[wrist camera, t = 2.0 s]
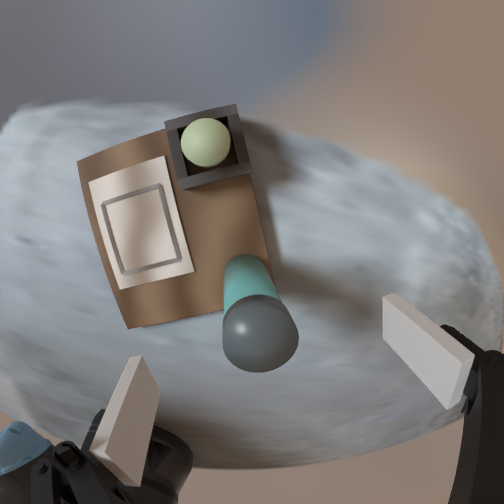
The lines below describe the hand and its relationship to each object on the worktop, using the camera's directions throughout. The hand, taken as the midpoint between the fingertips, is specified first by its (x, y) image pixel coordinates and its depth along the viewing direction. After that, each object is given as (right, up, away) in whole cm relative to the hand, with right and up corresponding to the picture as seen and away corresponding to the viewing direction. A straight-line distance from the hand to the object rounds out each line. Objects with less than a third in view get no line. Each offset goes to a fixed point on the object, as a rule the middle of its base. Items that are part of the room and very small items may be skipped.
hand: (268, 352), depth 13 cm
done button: (-4, +14, +8) cm, 17 cm away
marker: (-2, +3, +13) cm, 13 cm away
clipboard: (-8, +8, +12) cm, 17 cm away
